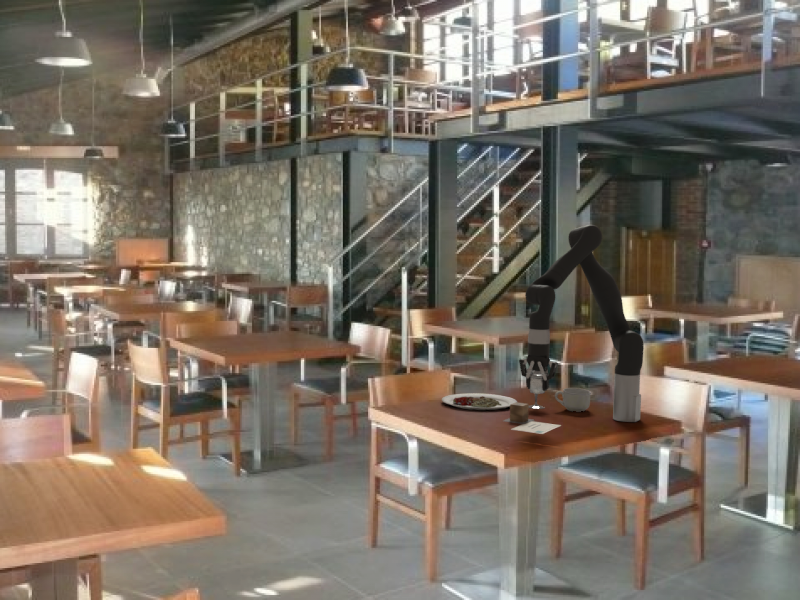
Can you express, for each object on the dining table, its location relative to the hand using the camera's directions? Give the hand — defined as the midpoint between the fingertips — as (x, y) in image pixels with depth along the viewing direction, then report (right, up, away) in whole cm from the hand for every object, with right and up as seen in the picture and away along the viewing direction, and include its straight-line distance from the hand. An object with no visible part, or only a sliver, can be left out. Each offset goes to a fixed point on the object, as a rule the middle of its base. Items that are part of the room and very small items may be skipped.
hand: (537, 389), depth 320 cm
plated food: (-17, -11, +44) cm, 49 cm away
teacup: (+19, -12, +35) cm, 41 cm away
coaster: (-5, -13, +12) cm, 18 cm away
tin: (0, -1, 0) cm, 1 cm away
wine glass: (+5, -11, +40) cm, 42 cm away
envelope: (0, -14, +1) cm, 14 cm away
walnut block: (-5, -13, +12) cm, 18 cm away
